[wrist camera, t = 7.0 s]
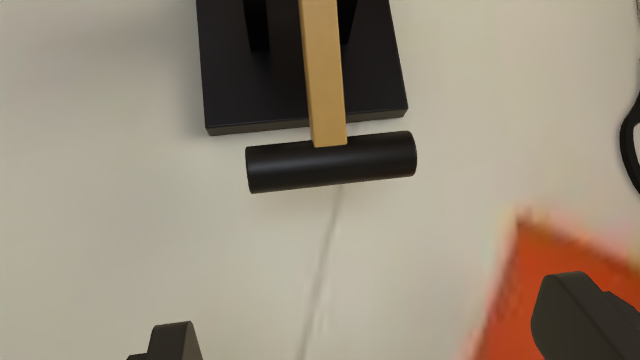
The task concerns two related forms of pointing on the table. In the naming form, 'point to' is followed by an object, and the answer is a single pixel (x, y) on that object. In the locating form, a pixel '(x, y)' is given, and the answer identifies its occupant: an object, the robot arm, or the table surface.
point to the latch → (327, 124)
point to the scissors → (631, 139)
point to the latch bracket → (291, 64)
